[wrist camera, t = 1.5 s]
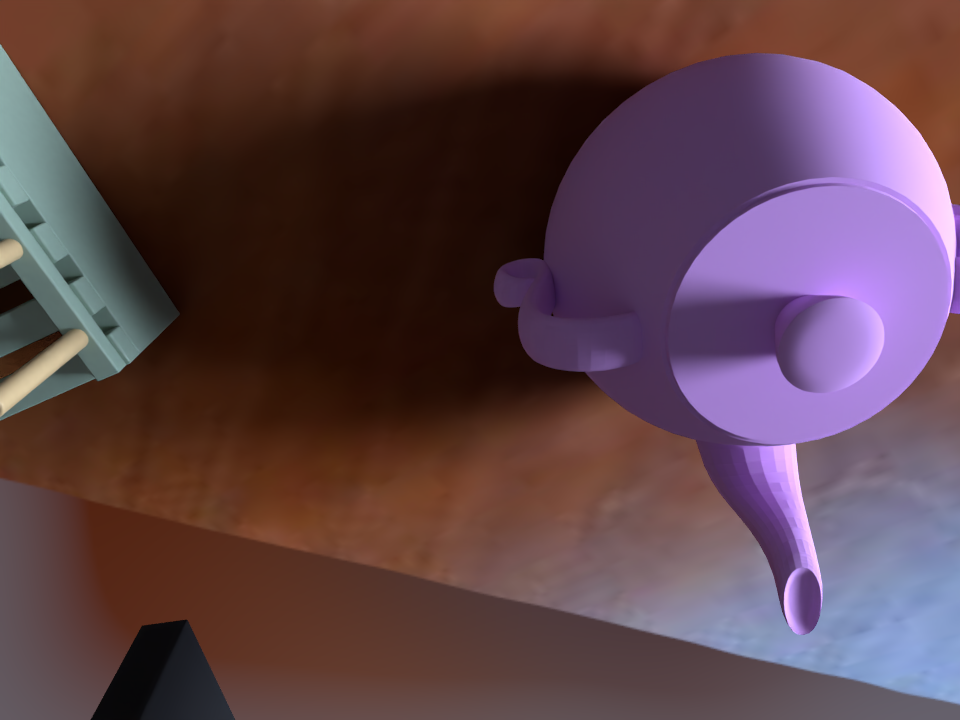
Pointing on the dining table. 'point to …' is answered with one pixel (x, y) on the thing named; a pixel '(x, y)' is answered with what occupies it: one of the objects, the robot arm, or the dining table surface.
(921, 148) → the teapot
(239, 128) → the dining table surface
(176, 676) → the robot arm
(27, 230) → the rack
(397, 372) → the dining table surface
